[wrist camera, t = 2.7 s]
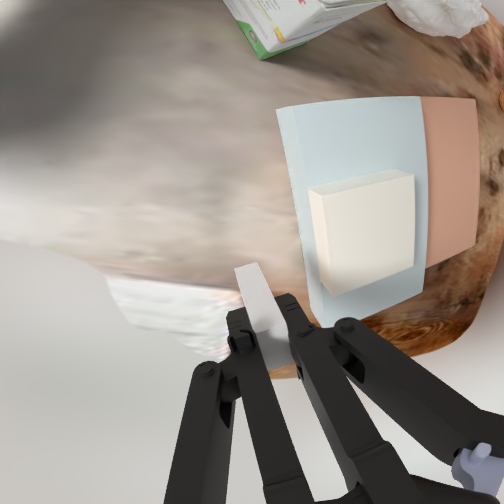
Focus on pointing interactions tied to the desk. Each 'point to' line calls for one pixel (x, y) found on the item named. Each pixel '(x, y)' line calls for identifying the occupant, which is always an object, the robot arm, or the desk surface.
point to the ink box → (291, 20)
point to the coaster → (363, 228)
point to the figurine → (502, 100)
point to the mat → (451, 175)
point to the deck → (349, 166)
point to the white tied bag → (440, 15)
